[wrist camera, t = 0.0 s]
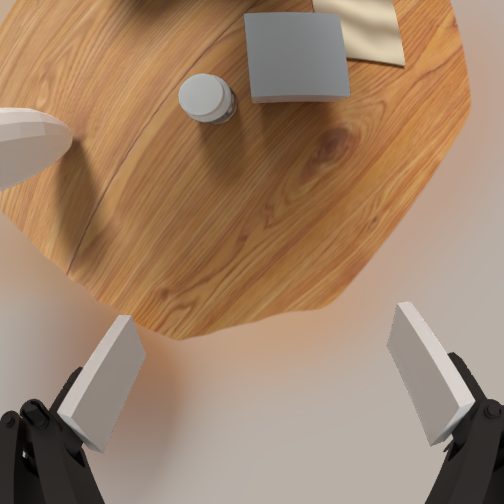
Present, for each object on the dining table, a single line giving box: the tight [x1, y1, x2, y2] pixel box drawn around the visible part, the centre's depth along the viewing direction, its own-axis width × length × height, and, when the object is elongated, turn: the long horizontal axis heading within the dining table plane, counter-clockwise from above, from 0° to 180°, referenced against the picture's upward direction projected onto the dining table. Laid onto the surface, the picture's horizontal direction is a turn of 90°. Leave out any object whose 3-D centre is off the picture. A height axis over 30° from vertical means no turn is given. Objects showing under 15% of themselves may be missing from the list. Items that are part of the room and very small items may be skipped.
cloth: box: [312, 0, 405, 66], centre depth 27 cm, size 13×13×1 cm
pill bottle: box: [178, 74, 237, 124], centre depth 29 cm, size 6×6×10 cm
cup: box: [0, 108, 73, 191], centre depth 25 cm, size 10×10×22 cm
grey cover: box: [244, 12, 350, 103], centre depth 24 cm, size 10×10×5 cm
